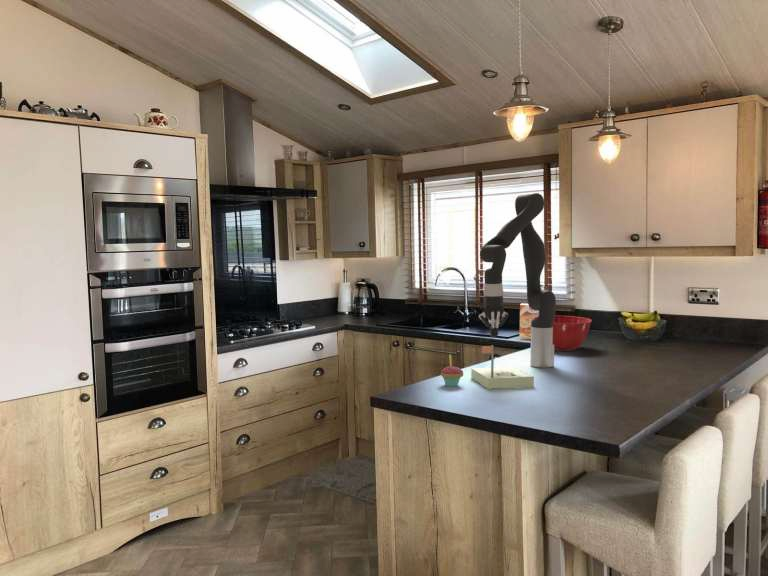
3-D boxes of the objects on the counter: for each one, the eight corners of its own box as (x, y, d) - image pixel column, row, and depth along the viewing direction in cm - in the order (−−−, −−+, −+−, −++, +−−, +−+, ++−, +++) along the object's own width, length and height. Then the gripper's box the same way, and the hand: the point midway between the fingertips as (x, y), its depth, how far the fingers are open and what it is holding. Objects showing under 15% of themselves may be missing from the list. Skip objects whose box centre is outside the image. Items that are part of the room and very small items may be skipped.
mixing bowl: (598, 354, 303) (599, 322, 302) (539, 353, 304) (540, 322, 303) (581, 344, 331) (582, 315, 330) (527, 344, 332) (527, 315, 331)
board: (513, 376, 253) (514, 337, 251) (533, 387, 234) (534, 344, 233) (466, 378, 249) (466, 338, 248) (482, 389, 230) (483, 346, 229)
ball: (514, 372, 236) (513, 385, 236) (508, 369, 241) (508, 382, 241) (501, 372, 235) (501, 385, 235) (496, 369, 240) (496, 382, 240)
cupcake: (436, 383, 240) (437, 352, 239) (456, 381, 243) (457, 351, 242) (447, 388, 232) (447, 356, 231) (467, 386, 235) (467, 354, 234)
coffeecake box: (519, 339, 350) (519, 304, 348) (520, 337, 356) (520, 303, 355) (546, 340, 345) (547, 305, 344) (547, 338, 352) (548, 304, 351)
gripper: (505, 292, 257) (505, 334, 259) (474, 294, 255) (475, 336, 256) (512, 294, 250) (513, 337, 252) (481, 296, 247) (481, 339, 249)
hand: (494, 337), depth 254 cm, fingers closed
